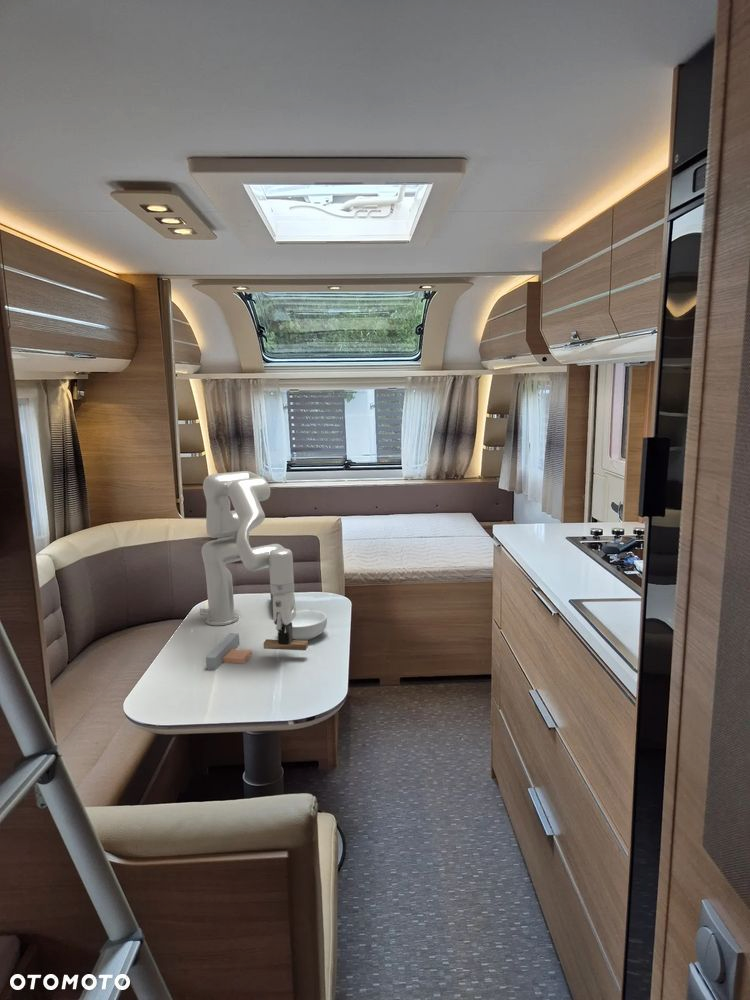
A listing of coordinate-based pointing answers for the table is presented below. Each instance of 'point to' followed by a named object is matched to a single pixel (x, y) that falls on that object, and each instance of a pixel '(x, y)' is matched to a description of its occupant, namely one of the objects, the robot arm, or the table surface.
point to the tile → (237, 656)
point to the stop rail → (222, 651)
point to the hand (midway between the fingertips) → (285, 641)
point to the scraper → (291, 646)
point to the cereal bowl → (308, 624)
